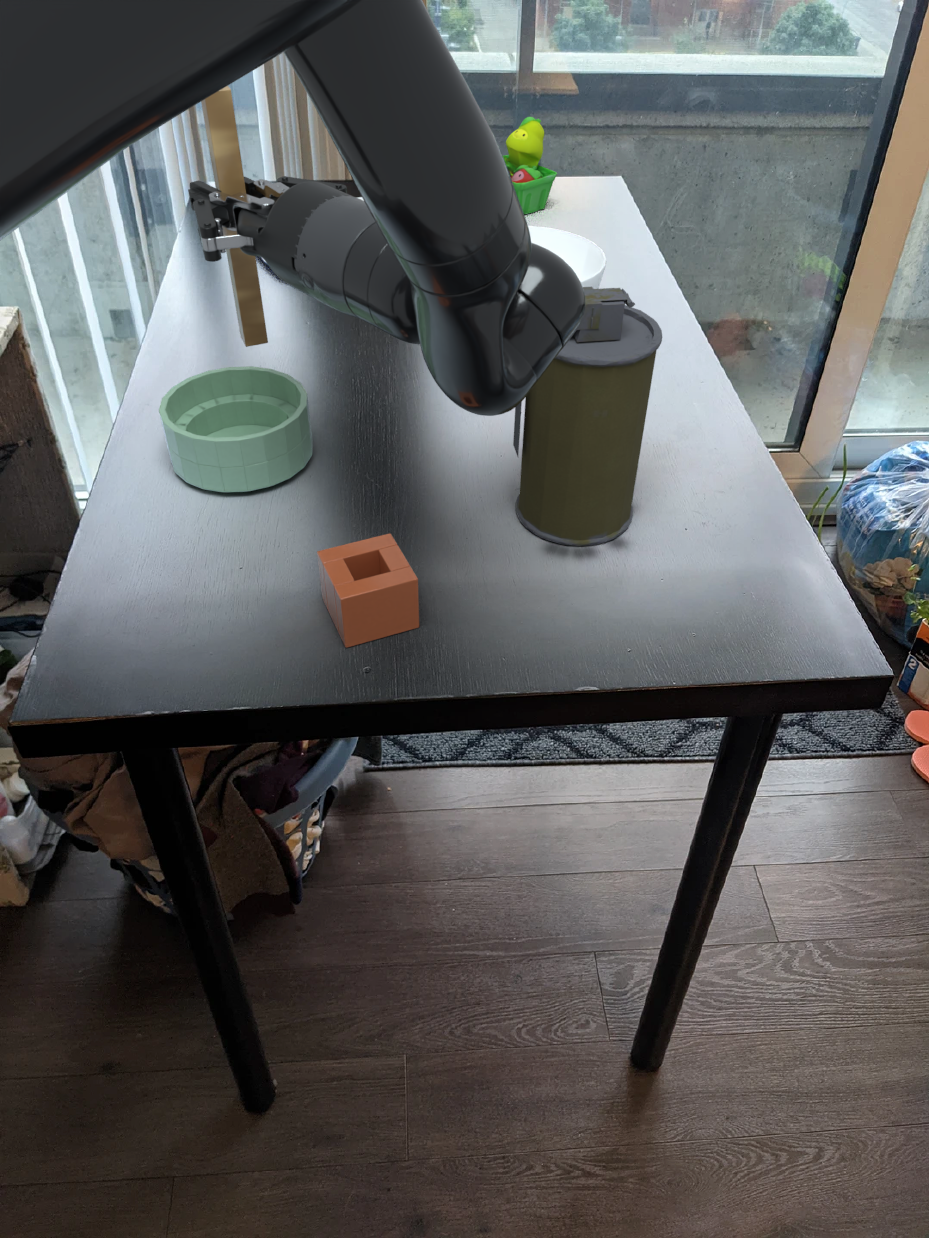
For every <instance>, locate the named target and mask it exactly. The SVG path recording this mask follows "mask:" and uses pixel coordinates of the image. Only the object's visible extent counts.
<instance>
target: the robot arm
mask: <svg viewBox="0 0 929 1238" xmlns="http://www.w3.org/2000/svg"><path fill="white" fill-rule="evenodd" d="M282 54H283V55H284V56H285V57H286V60H287V61H288V63H289V65H290V66H291V68H292V69H293V71H294V73H295V75H296V76H297V78H298V79H299V82H300V83H301V85H302V87H303V89H304V91H305V92H306V94H307V96H308V98H309V99H310V101H311V103H312V104H313V106H314V109H315V110H316V112H317V115H319V117H320V120H321V122H322V124H323V126H324V127H325V129H326V131H327V133H328V135H329V137H330V139H331V140H332V143H333V144H334V146H335V148H336V150H337V152H338V154H339V155H340V157H341V160H342V161H343V163H344V166H345V168H346V169H347V171H348V173H349V175H350V176H351V179H352V180H353V183H354V185H355V186H356V189H357V190H358V192H359V195H360V197H362V198H363V200H364V201H363V200H361V199H358V198H357V197H356V196H353V195H351V194H349V193H348V190H347V189H348V188H347V185H346V184H342V183H335V182H329V181H320V180H314V179H306V178H300V177H299V178H298V177H293V176H288V175H283V176H280V177H278V178H277V179H276V180H277V182H273V183H272V182H271V181H269V180H267V179H262V178H261V179H257V180H254V179H252V178H249V177H247V176H244V182H245V189H246V194H245V193H242V192H239V193H236V194H233V195H229V194H226V193H223V192H222V191H220V190H218V189H216V187H215V186H213V185H210V184H208V183H205V182H204V181H202V180H199V179H198V180H195V181H191V182H189V189H187V191H188V196H189V202H190V203H189V204H190V208H191V210H192V211H193V212H194V214H195V218H196V224H197V233H198V237H199V241H200V245H201V249H202V252H203V255H204V260H205V261H207V262H212V263H213V262H215V263H216V262H218V261H220V260H222V258H223V257H222V254H225V253H226V249H232V248H240V249H241V251H242V252H243V253H245V254H247V255H250V256H255V257H257V258H260V257H261V258H263V259H264V260H265V261H266V263H267V264H268V265H269V266H268V265H267V264H266V263H265V264H266V265H267V266H268V267H269V269H271V271H272V273H274V275H275V276H276V277H277V278H278V279H279V280H280V281H282V283H284V284H286V285H288V286H290V287H292V288H293V289H295V290H298V291H299V292H301V293H303V294H305V295H307V296H309V297H310V298H313V299H314V300H316V301H318V302H320V303H322V304H323V305H326V306H328V307H329V308H331V309H333V310H335V311H337V312H339V313H341V314H344V315H346V316H349V317H352V318H357V319H359V320H362V321H364V322H365V323H367V324H369V325H371V326H373V327H375V328H377V329H379V330H380V331H383V332H384V333H386V334H388V335H389V336H391V337H393V338H395V339H397V340H399V341H402V342H404V343H408V344H412V345H420V350H421V354H422V357H423V360H424V362H425V364H426V367H427V370H428V372H429V373H430V375H431V377H432V379H433V381H434V382H435V383H436V385H437V387H438V388H439V389H440V390H441V391H442V393H443V394H444V395H445V396H446V397H447V398H448V399H449V400H450V401H451V402H452V403H453V404H455V405H456V406H458V407H460V409H462V410H463V411H467V412H469V413H470V414H474V415H477V416H483V417H484V416H485V417H486V416H487V417H494V416H500V415H503V414H504V415H505V414H506V413H509V412H510V411H512V410H513V409H515V407H516V406H517V405H518V404H520V403H521V402H523V401H524V400H525V399H526V396H527V395H528V393H529V392H530V391H531V389H532V388H533V387H534V386H535V384H536V383H537V382H538V380H539V379H540V378H541V376H542V375H543V374H544V372H545V371H546V370H547V368H548V367H549V366H550V364H551V363H552V362H553V360H554V359H555V358H556V356H557V355H558V354H559V352H560V351H561V350H562V349H563V348H564V346H565V345H566V344H567V342H568V341H569V340H570V339H571V337H572V336H573V334H574V333H575V332H576V330H577V329H578V327H579V325H580V323H581V321H582V319H583V316H584V313H585V294H584V290H583V287H582V284H581V282H580V280H579V278H578V277H577V275H576V273H575V272H574V271H573V269H572V268H571V267H570V266H569V265H568V264H567V263H566V262H565V261H564V260H563V259H562V258H560V257H559V256H558V255H556V254H554V253H553V252H551V251H550V250H548V249H546V248H544V247H541V246H539V245H537V244H534V243H531V237H530V232H529V228H528V226H529V225H528V222H527V219H526V216H525V214H524V213H523V210H522V208H521V205H520V202H519V199H518V196H517V194H516V191H515V188H514V185H513V182H512V180H511V177H510V174H509V171H508V168H507V166H506V163H505V160H504V158H503V156H504V155H503V153H502V151H501V147H500V146H499V143H498V142H497V139H496V137H495V135H494V132H493V131H492V129H491V126H490V125H489V123H488V121H487V119H486V117H485V115H484V113H483V111H482V109H481V107H480V106H479V104H478V102H477V100H476V98H475V96H474V94H473V92H472V91H471V89H470V87H469V85H468V83H467V82H466V81H467V80H466V79H465V78H464V76H463V74H462V72H461V70H460V69H459V66H458V65H457V63H456V61H455V60H454V57H453V56H452V54H451V52H450V50H449V48H448V47H447V44H446V42H445V41H444V39H443V37H442V35H441V33H440V32H439V30H438V28H437V26H436V24H435V23H434V20H433V19H432V17H431V15H430V13H429V11H428V9H427V7H426V5H425V3H424V1H423V0H0V242H1V241H2V240H3V239H5V238H6V237H8V236H9V235H11V234H12V233H13V232H14V231H16V230H17V229H19V228H20V227H21V226H24V224H26V223H27V222H28V221H30V220H31V219H32V218H34V217H35V216H36V215H38V214H39V213H41V212H42V211H43V210H45V209H46V208H48V206H50V205H52V204H53V203H54V202H55V201H57V200H58V199H60V198H61V197H62V196H64V195H65V194H66V193H68V192H70V191H71V190H72V189H74V188H75V187H76V186H77V185H79V184H81V182H83V181H84V180H85V179H87V177H89V176H91V175H92V174H93V173H94V172H96V171H97V170H98V169H100V168H101V167H102V166H104V165H105V164H107V163H108V162H109V161H110V160H112V159H114V158H115V157H116V156H118V155H119V154H121V152H123V151H125V150H126V149H127V148H128V147H131V146H132V145H134V144H135V143H137V142H138V141H140V140H141V139H143V138H144V137H146V136H147V135H149V134H151V133H152V132H154V131H155V130H157V129H159V128H160V127H161V126H163V125H165V124H167V123H168V122H170V121H171V120H173V119H175V118H176V117H178V116H180V115H181V114H183V113H185V112H186V111H187V110H189V109H191V108H192V107H195V106H196V105H198V104H199V103H201V101H203V100H204V99H206V98H208V97H209V96H211V95H213V94H214V93H216V92H218V91H220V90H221V89H223V88H225V87H226V86H228V87H229V86H230V85H232V84H233V83H235V82H236V81H238V80H240V79H241V78H243V77H245V76H247V75H248V74H250V73H251V72H253V71H255V70H257V69H258V68H260V67H261V66H264V65H265V64H267V63H268V62H270V61H272V60H274V59H276V58H277V57H278V56H281V55H282ZM261 258H260V259H261Z"/></svg>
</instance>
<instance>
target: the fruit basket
mask: <svg viewBox="0 0 929 1238" xmlns="http://www.w3.org/2000/svg"><path fill="white" fill-rule="evenodd" d="M541 123H542V120H541V119H540V118H534V117H533V116H526V117H525V118H524V119H523V120H522V122H521V123H520V125H519V126H518V128H517V129H515V130H514V131H513V132H511V133H510V134H509V135H508V137H507V138H506V140H505V146H506V150H507V153H508V154H504V155H503V158H504V160H505V163H506V166H507V168H508V171H509V174H510V177H511V180H512V182H513V185H514V188H515V191H516V194H517V196H518V199H519V202H520V205H521V208H522V210H523V213H524V215H530V214H532V213H536V212H538V211H540V210H541V211H542V210H545V208H546V205H547V202H548V199H549V196H550V193H551V189H552V187H553V183H554V182H555V180H556V177H557V175H558V172H557V171H554V170H552V169H550V168H547V167H545V166H542V165H540V164H539V162H540V161H541V159H542V157H543V153H544V139H545V129H544V127H543V126H542V125H541Z"/></svg>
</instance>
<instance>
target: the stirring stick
mask: <svg viewBox="0 0 929 1238" xmlns="http://www.w3.org/2000/svg"><path fill="white" fill-rule="evenodd" d="M232 93H233V92H232V89H231V87H230V86H229V85H228V86H226V87H225V88H223V89H221V90H220V91H218V92H216V93H214V94H213V95H211V96H209V97H208V98H206V99H204V100H203V101H201V102H200V104H201V108H202V114H203V120H204V127H205V132H206V138H207V144H208V151H209V156H210V162H211V168H212V175H213V180H214V181H213V182H214V188H216V189H218V190H220V191H222V192H223V193H226V194H229V195H233V194H236V193H239V192H242V193H245V194H246V189H245V182H244V177H245V176H244V168H243V162H242V155H241V149H240V142H239V134H238V127H237V122H236V115H235V109H234V101H233V94H232ZM225 253H226V258H227V263H228V264H227V265H228V270H229V275H230V282H231V287H232V288H231V289H232V293H233V300H234V307H235V311H236V318H237V323H238V330H239V336H240V339H241V341H242V343H243V344H244V346H245V347H246V348H249V347H253V346H259V345H264V344H268V343H269V339H268V333H267V326H266V319H265V311H264V305H263V299H262V292H261V283H260V278H259V277H260V276H259V271H258V265H257V264H258V263H257V258H256V257H257V256H250V255H247V254H245V253H243V252H242V251H241V249H240V248H232V249H226V252H225Z"/></svg>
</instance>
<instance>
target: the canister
mask: <svg viewBox="0 0 929 1238" xmlns="http://www.w3.org/2000/svg"><path fill="white" fill-rule="evenodd" d="M583 290H584V294H585V313H584V316H583V319H582V321H581V323H580V325H579V327H578V329H577V330H576V332H575V333H574V334H573V336H572V337H571V339H570V340H569V341H568V342H567V344H566V345H565V346H564V348H563V349H562V350H561V351H560V352H559V354H558V355H557V356H556V358H555V359H554V360H553V362H552V363H551V364H550V366H549V367H548V368H547V370H546V371H545V372H544V374H543V375H542V376H541V378H540V379H539V380H538V382H537V383H536V384H535V386H534V387H533V388H532V389H531V391H530V392H529V393H528V395H527V396H526V397H525V398H524V400H525V401H524V415H523V433H522V448H521V460H520V461H521V462H520V463H521V464H520V476H519V477H520V478H519V481H520V482H519V494H518V495H517V498H516V501H515V512H516V514H517V517H518V519H519V521H520V522H521V524H522V525H523V526H524V527H525V528H526V529H527V530H528V531H529V532H531V533H533V534H534V535H536V536H537V537H539V538H541V539H543V540H545V541H548V542H553V543H556V544H559V545H562V546H573V547H586V546H597V545H601V544H603V543H606V542H610V541H612V540H615V539H616V538H618V537H619V536H620V535H622V534H624V533H625V532H626V531H627V529H628V528H629V527H630V525H631V523H632V520H633V517H634V511H633V505H632V504H633V498H634V494H635V487H636V480H637V474H638V468H639V461H640V454H641V449H642V443H643V437H644V430H645V425H646V419H647V412H648V406H649V399H650V394H651V386H652V381H653V375H654V367H655V362H656V355H657V350H658V349H660V346H661V344H662V341H663V331H662V328H661V327H660V325H659V323H658V321H656V320H655V319H654V318H653V317H651V316H650V315H649V314H647V313H645V312H644V311H642V310H640V309H638V308H635V306H636V303H635V301H633V300H632V299H631V297H630V295H629V293H628V292H626V290H625V289H624V288H621V287H606V288H605V287H604V288H599V289H593V287H583ZM522 402H523V401H522ZM522 402H521V403H520V404H518V405H517V406H516V407H515V408H514V423H513V440H512V441H513V442H512V443H513V444H512V446H513V448H514V451H515V454H516V457H517V458H519V455H520V454H519V453H520V437H521V436H520V433H521V419H522V417H521V416H522V405H523V403H522Z"/></svg>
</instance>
